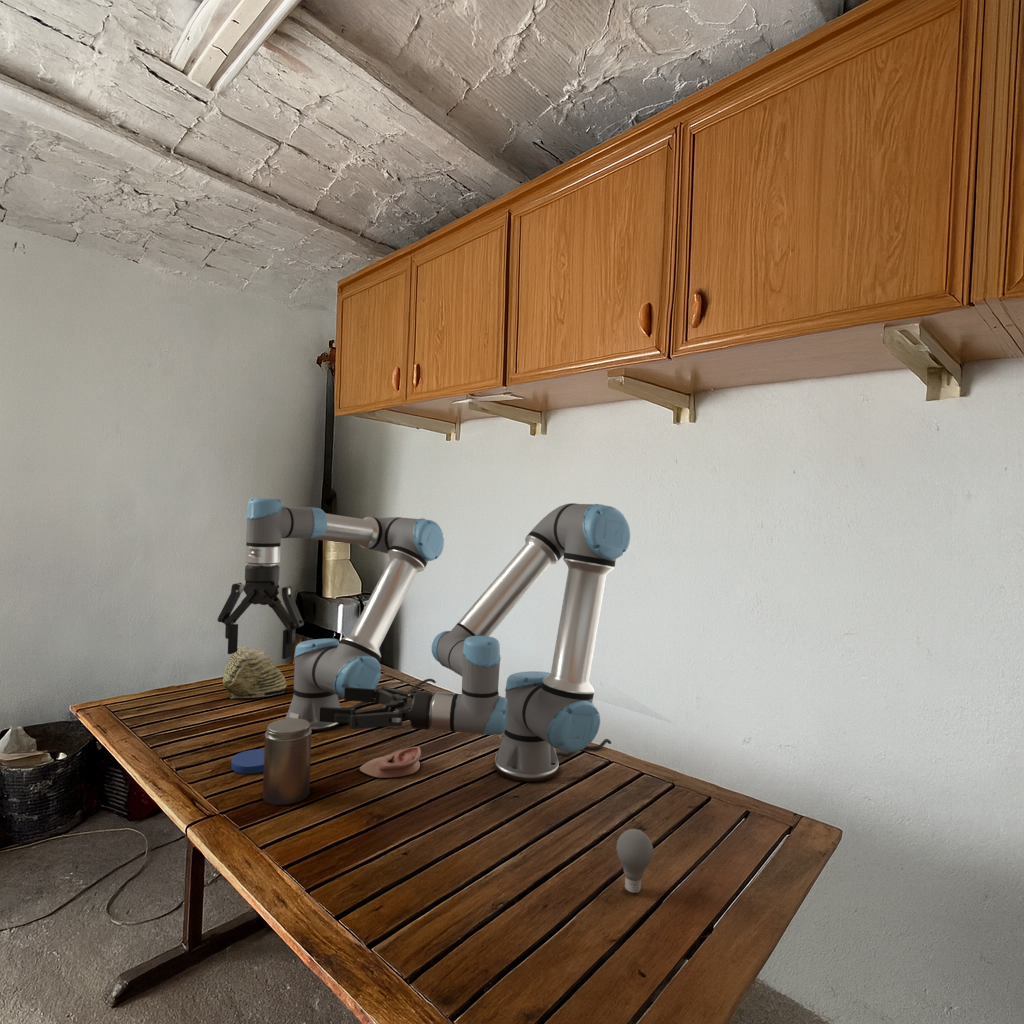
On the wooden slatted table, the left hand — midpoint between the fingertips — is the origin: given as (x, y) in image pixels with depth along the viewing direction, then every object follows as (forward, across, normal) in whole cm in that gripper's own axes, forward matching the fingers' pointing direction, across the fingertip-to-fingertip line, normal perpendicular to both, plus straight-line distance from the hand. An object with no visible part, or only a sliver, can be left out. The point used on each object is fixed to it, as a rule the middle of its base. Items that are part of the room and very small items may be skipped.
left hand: (259, 655), depth 148 cm
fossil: (+26, -28, +46) cm, 60 cm away
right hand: (+6, +24, -12) cm, 27 cm away
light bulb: (+26, +86, -30) cm, 94 cm away
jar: (+26, +14, -12) cm, 32 cm away
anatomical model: (+26, +31, +6) cm, 41 cm away
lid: (+24, 0, 0) cm, 24 cm away
